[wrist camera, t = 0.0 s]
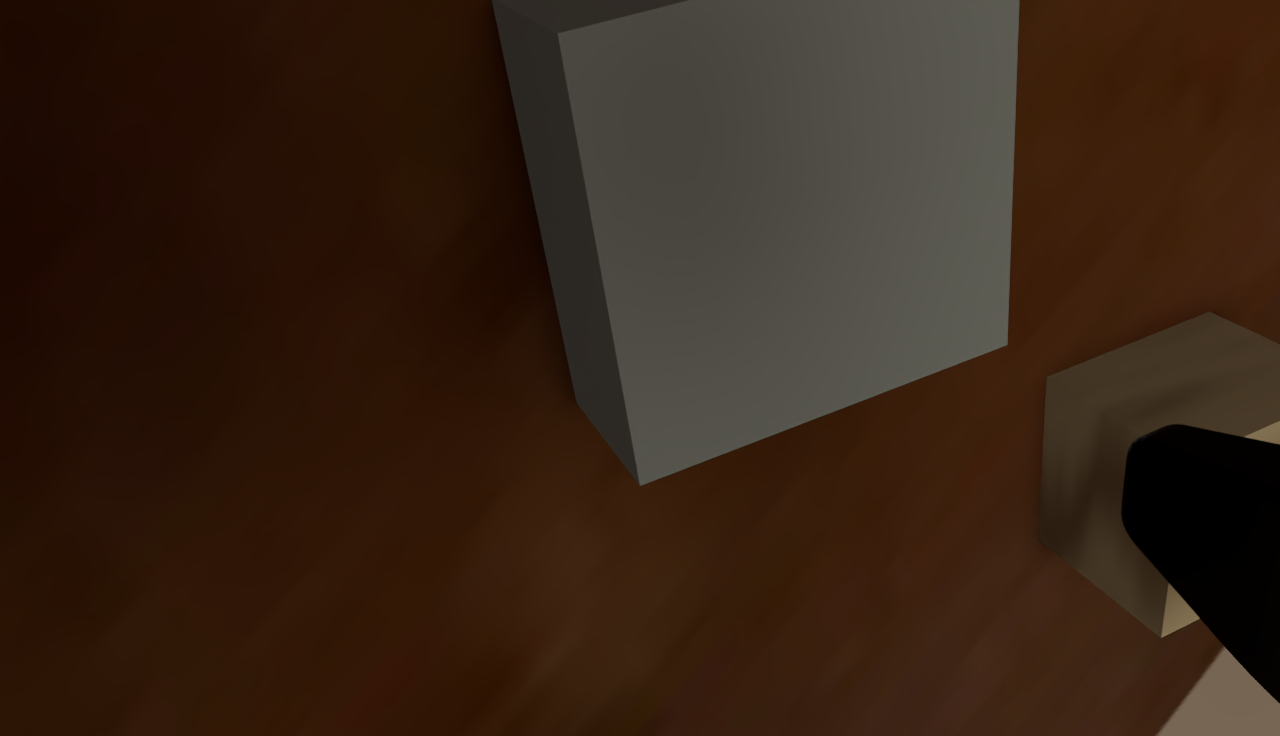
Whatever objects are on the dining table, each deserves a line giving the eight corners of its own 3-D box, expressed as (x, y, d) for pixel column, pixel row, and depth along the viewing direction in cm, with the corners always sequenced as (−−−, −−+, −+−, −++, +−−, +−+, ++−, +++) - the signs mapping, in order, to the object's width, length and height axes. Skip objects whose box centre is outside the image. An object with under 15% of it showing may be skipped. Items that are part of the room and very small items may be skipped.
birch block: (1183, 470, 35) (1322, 556, 31) (1035, 536, 34) (1161, 638, 30) (1206, 309, 32) (1363, 383, 28) (1043, 375, 31) (1185, 463, 27)
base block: (901, 280, 27) (1007, 344, 24) (571, 396, 25) (640, 486, 22) (892, -101, 23) (1022, -84, 19) (486, -4, 20) (557, 33, 17)
